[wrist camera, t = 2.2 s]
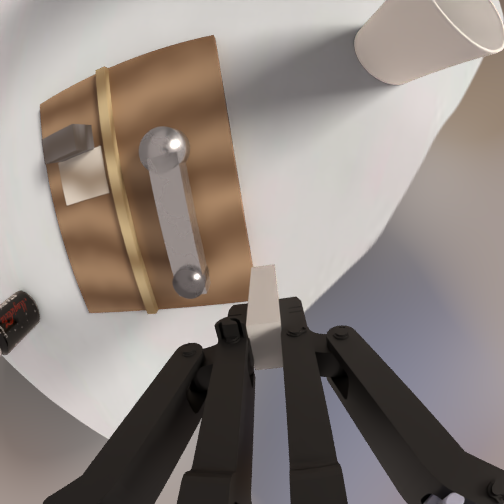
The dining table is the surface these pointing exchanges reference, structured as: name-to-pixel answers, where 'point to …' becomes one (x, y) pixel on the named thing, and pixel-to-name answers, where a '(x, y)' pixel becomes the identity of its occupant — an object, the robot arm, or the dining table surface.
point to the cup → (427, 37)
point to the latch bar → (176, 208)
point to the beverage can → (16, 320)
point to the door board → (144, 179)
